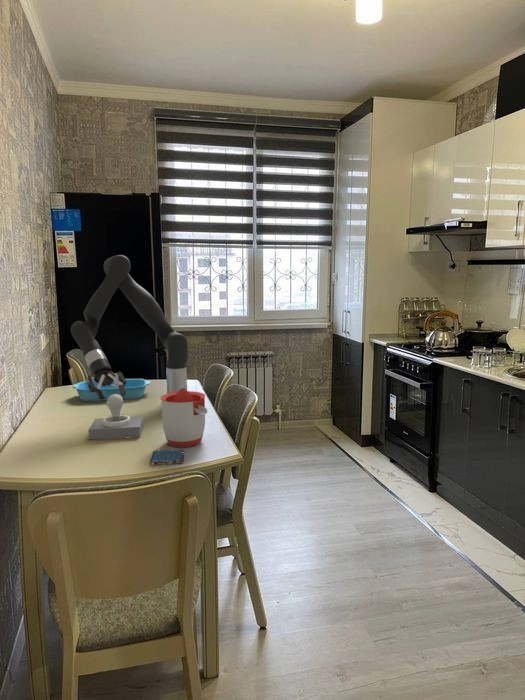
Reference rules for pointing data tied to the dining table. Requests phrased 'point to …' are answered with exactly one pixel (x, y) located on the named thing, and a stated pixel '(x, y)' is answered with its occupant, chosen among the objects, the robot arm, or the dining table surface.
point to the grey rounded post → (115, 406)
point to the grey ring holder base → (116, 427)
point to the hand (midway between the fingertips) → (113, 397)
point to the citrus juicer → (183, 417)
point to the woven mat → (167, 457)
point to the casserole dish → (112, 390)
